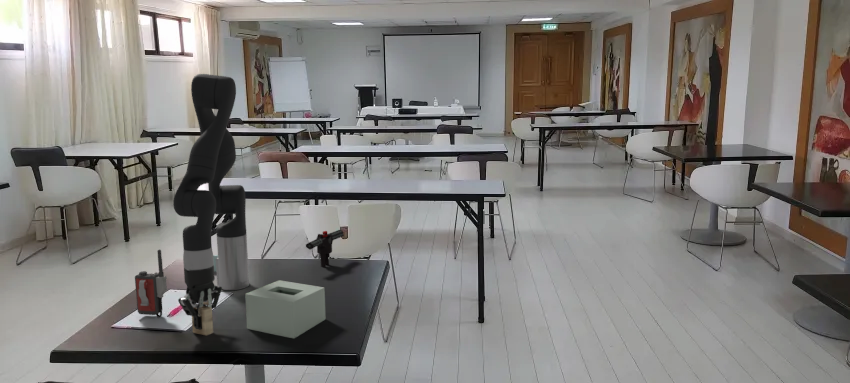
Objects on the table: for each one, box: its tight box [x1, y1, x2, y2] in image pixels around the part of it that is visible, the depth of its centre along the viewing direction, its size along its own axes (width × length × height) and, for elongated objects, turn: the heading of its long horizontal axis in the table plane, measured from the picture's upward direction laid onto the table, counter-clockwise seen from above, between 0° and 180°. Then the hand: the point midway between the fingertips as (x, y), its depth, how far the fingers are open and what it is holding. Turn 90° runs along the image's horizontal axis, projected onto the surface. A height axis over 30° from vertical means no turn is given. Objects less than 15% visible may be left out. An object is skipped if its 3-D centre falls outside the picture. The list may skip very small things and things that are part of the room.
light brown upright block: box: [191, 306, 214, 337], centre depth 170 cm, size 5×2×7 cm, turn 63°
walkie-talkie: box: [134, 249, 168, 318], centre depth 180 cm, size 9×4×20 cm, turn 79°
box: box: [244, 279, 326, 339], centre depth 174 cm, size 16×14×10 cm
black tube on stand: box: [305, 229, 344, 268], centre depth 225 cm, size 5×20×15 cm, turn 155°
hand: (202, 327), depth 170 cm, fingers closed on light brown upright block, 2 cm apart
